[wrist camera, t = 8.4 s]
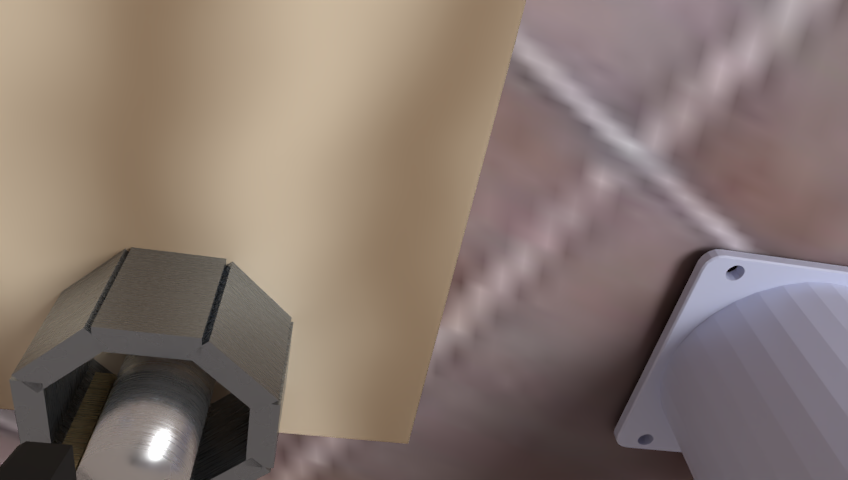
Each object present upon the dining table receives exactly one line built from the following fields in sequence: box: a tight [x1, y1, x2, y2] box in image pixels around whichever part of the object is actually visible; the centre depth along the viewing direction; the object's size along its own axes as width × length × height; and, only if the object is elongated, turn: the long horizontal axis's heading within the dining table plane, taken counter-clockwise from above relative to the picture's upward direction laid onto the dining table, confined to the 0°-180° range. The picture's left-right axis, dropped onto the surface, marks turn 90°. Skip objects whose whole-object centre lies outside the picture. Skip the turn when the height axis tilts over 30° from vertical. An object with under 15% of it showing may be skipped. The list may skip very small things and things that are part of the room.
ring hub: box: [9, 247, 293, 480], centre depth 18 cm, size 6×6×3 cm
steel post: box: [62, 354, 216, 480], centre depth 18 cm, size 3×2×4 cm
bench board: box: [0, 0, 526, 444], centre depth 16 cm, size 14×22×1 cm, turn 169°
